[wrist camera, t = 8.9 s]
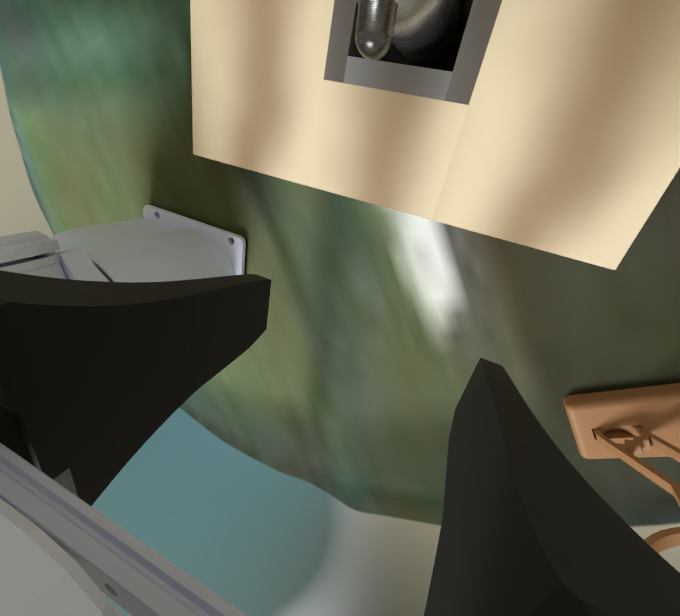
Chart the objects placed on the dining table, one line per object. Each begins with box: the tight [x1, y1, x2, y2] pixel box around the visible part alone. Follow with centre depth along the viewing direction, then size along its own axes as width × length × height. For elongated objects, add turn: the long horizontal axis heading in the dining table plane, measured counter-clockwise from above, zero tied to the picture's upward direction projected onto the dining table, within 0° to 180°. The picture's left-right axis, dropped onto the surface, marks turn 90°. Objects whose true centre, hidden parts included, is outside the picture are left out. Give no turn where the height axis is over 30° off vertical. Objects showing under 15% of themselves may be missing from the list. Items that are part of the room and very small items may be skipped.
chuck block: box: [190, 0, 680, 270], centre depth 14 cm, size 22×16×3 cm
